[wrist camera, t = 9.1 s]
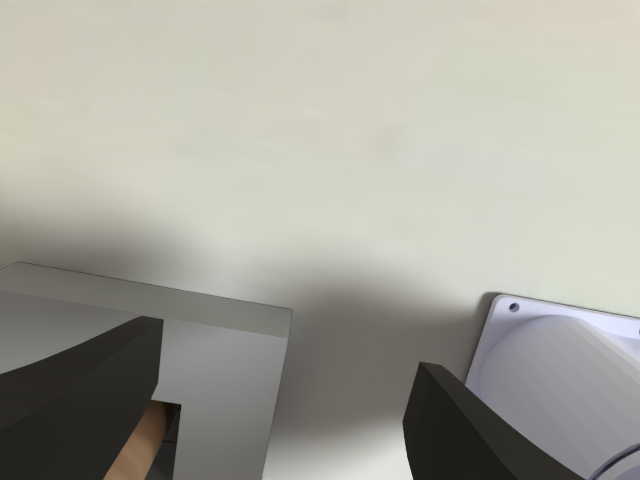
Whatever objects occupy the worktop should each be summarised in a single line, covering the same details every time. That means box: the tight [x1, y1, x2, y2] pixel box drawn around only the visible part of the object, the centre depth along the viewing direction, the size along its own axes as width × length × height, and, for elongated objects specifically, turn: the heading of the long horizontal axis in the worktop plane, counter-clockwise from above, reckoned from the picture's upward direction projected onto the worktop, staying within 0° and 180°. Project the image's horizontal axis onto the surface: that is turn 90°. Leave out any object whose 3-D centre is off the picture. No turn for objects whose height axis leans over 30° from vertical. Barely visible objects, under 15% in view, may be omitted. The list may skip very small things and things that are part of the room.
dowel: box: [103, 400, 180, 480], centre depth 20 cm, size 4×4×8 cm
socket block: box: [0, 262, 292, 480], centre depth 22 cm, size 14×14×3 cm
